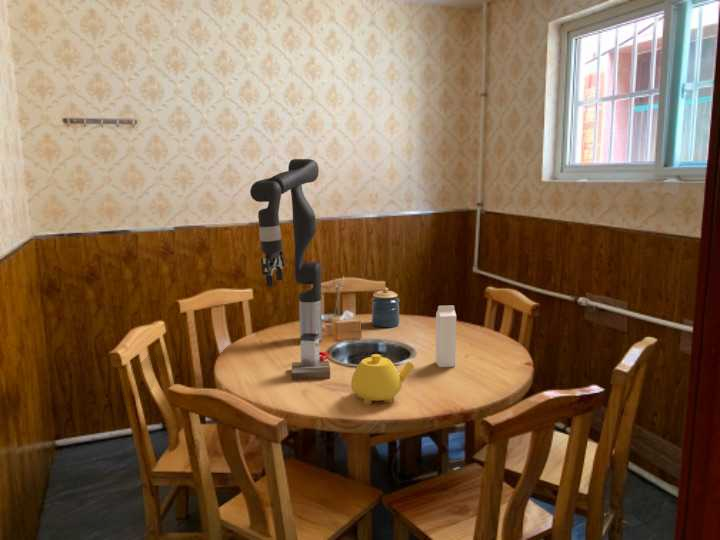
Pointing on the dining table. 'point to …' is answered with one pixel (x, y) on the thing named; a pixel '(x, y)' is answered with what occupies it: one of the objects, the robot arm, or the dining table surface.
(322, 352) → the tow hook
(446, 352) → the milk
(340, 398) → the dining table surface
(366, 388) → the teapot
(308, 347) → the grey rectangular container
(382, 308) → the canister
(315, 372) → the coupler plate
